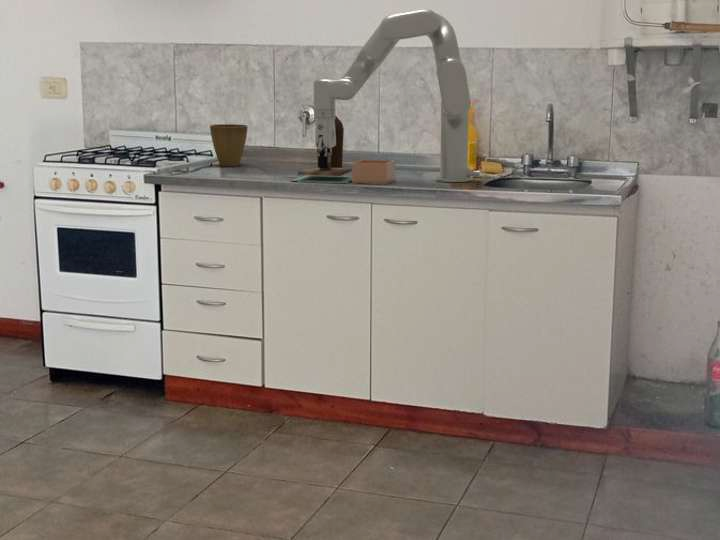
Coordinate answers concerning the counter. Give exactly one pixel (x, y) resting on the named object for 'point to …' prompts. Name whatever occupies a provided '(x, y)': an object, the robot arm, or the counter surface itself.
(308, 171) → the lid
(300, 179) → the mat
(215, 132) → the plant pot
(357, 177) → the pot
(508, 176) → the counter surface
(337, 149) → the olive oil
